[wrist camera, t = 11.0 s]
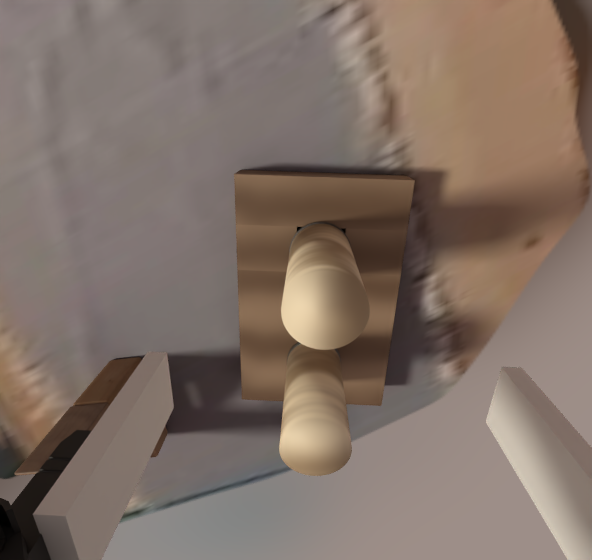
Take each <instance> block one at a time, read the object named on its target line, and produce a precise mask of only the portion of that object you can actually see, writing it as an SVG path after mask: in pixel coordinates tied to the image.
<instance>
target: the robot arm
mask: <svg viewBox="0 0 592 560" xmlns="http://www.w3.org/2000/svg"><path fill="white" fill-rule="evenodd" d="M173 408H174V404H173V396H172V388H171V380H170V372H169V364H168V356H167V353H165V352H147V354H146V355H145V356H144V358H143V359H142V361H141V362H140V364H139V365H138V366H137V368H136V369H135V371H134V372H133V373H132V375H131V376H130V378H129V379H128V380H127V382H126V383H125V385H124V386H123V388H122V389H121V390H120V392H119V393H118V395H117V396H116V397H115V399H114V400H113V402H112V403H111V404H110V406H109V407H108V409H107V410H106V412H105V413H104V414H103V416H102V417H101V419H100V420H99V421H98V423H97V424H96V426H95V427H94V428H93V430H92V431H89V430H76V431H75V432H73V433H72V434H71V435H69V436H68V437H67V438H65V439H64V440H63V441H62V442H60V444H59V445H58V446H57V447H56V449H55V450H54V451H53V453H52V454H51V455H50V456H49V459H48V460H46V461H45V463H44V464H43V465H42V467H41V468H40V469H39V472H37V473H36V474H35V476H34V477H33V478H32V479H31V481H30V482H29V483H28V485H27V486H26V487H25V489H24V490H23V491H22V492H21V494H20V495H19V496H18V497H17V499H16V500H15V501H14V503H13V504H12V505H10V503H9V501H6V500H4V499H2V498H0V560H101V559H102V557H103V555H104V553H105V551H106V549H107V547H108V545H109V542H110V540H111V538H112V536H113V534H114V532H115V530H116V528H117V526H118V524H119V522H120V520H121V517H122V515H123V513H124V511H125V509H126V507H127V505H128V503H129V501H130V499H131V496H132V494H133V492H134V490H135V488H136V486H137V484H138V482H139V480H140V478H141V476H142V473H143V471H144V469H145V467H146V465H147V463H148V461H149V459H150V457H151V455H152V452H153V450H154V448H155V446H156V444H157V442H158V440H159V438H160V436H161V434H162V431H163V429H164V427H165V425H166V423H167V421H168V419H169V417H170V415H171V413H172V411H173ZM486 423H487V425H488V426H489V428H490V430H491V431H492V433H493V435H494V436H495V438H496V440H497V441H498V443H499V445H500V446H501V448H502V450H503V452H504V453H505V455H506V456H507V458H508V460H509V462H510V463H511V465H512V467H513V468H514V470H515V472H516V473H517V475H518V477H519V478H520V480H521V482H522V484H523V485H524V487H525V489H526V490H527V492H528V494H529V495H530V497H531V499H532V500H533V502H534V504H535V505H536V507H537V509H538V510H539V512H540V514H541V515H542V517H543V519H544V520H545V522H546V524H547V525H548V527H549V529H550V531H551V532H552V534H553V536H554V537H555V539H556V540H557V542H558V544H559V546H560V547H561V549H562V551H563V552H564V554H565V556H566V557H567V559H568V560H592V448H591V447H590V445H589V444H588V443H587V442H586V441H585V440H584V439H583V438H582V436H581V435H580V434H579V433H578V432H577V430H576V429H575V428H574V427H573V426H572V425H571V424H570V422H569V421H568V420H567V419H566V418H565V417H564V416H563V414H562V413H561V412H560V411H559V410H558V409H557V408H556V406H555V405H554V404H553V403H552V402H551V401H550V400H549V398H548V397H547V396H546V395H545V394H544V393H543V392H542V390H541V389H540V388H539V387H538V386H537V385H536V383H535V382H534V381H533V380H532V379H531V378H530V377H529V375H528V374H527V373H526V372H525V371H524V370H523V369H522V368H516V367H502V368H501V371H500V375H499V378H498V382H497V385H496V388H495V392H494V396H493V399H492V402H491V405H490V409H489V412H488V416H487V419H486Z"/></svg>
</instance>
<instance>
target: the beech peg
mask: <svg viewBox="0 0 592 560" xmlns="http://www.w3.org/2000/svg"><path fill="white" fill-rule="evenodd" d="M369 315H370V305H369V300H368V297H367V294H366V291H365V288H364V285H363V282H362V279H361V276H360V273H359V270H358V267H357V264H356V262H355V259H354V256H353V253H352V250H351V245H350V242H349V239H348V237H347V236H346V234H345V233H344V231H343V230H341V229H340V228H339V227H338V226H336V225H334V224H332V223H328V222H313V223H309V224H307V225H305V226H303V227H302V228H301V229H299V230H298V231H297V233H296V234H295V235H294V237H293V239H292V241H291V244H290V250H289V260H288V266H287V273H286V279H285V286H284V292H283V299H282V305H281V316H282V321H283V324H284V326H285V328H286V330H287V331H288V333H289V334H290V335H291V336H292V337H293V338H294V339H295V340H296V341H298V342H299V343H301V344H303V345H305V346H307V347H310V348H314V349H320V350H330V349H336V348H340V347H343V346H345V345H347V344H349V343H351V342H352V341H354V340H355V339H356V338H357V337H358V336H359V335H360V334H361V333H362V332H363V330H364V329H365V327H366V325H367V322H368V320H369Z"/></svg>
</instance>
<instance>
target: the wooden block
mask: <svg viewBox="0 0 592 560" xmlns="http://www.w3.org/2000/svg"><path fill="white" fill-rule="evenodd" d="M141 361H142V359H141V358H140V357H135V358H126V359H116V360H111V361H109V363H108V364H107V365H106V366H105V367H104V369H103V370H102V371H101V372H100V373H99V374H98V376H97V377H96V378H95V379H94V380H93V382H92V383H91V384H90V385H89V386H88V387H87V389H86V390H85V391H84V392H83V393H82V395H81V396H80V397H79V398H78V399H77V400H76V402H75V403H74V405H73V407H70V408H69V409H68V411H67V412H66V413H65V414H64V415H63V416H62V418H61V419H60V420H59V421H58V422H57V424H56V425H55V426H54V427H53V428H52V429H51V431H50V432H49V433H48V434H47V435H46V437H45V438H44V439H43V440H42V441H41V442H40V444H39V445H38V446H37V447H36V448H35V450H34V451H33V452H32V453H31V454H30V455H29V457H28V458H27V459H26V460H25V461H24V463H23V464H22V465H21V466H20V467H19V468H18V470H17V471H16V472H15V475H27V474H36V473H37V472H39V469H40V468H41V467H42V465H43V464H44V463H45V461H46V460H48V459H49V456H50V455H51V454H52V453H53V451H54V450H55V449H56V447H57V446H58V445H59V444H60V442H62V441H63V440H64V439H65V438H67V437H68V436H69V435H71V434H72V433H73V432H75V431H76V430H89V431H92V430H93V428H94V427H95V426H96V424H97V423H98V421H99V420H100V419H101V417H102V416H103V414H104V413H105V412H106V410H107V409H108V407H109V406H110V404H111V403H112V402H113V400H114V399H115V397H116V396H117V395H118V393H119V392H120V390H121V389H122V388H123V386H124V385H125V383H126V382H127V380H128V379H129V378H130V376H131V375H132V373H133V372H134V371H135V369H136V368H137V366H138V365H139V364H140V362H141ZM166 436H167V429H166V426H165V427H164V429H163V431H162V434H161V436H160V438H159V440H158V442H157V444H156V446H155V448H154V450H153V452H152V455H151V457H156V456H157V455H158V453H159V451H160V449H161V447H162V444H163V442H164V440H165V438H166Z"/></svg>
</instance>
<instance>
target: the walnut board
mask: <svg viewBox="0 0 592 560" xmlns="http://www.w3.org/2000/svg"><path fill="white" fill-rule="evenodd" d="M234 180H235V209H236V238H237V268H238V297H239V326H240V355H241V384H242V399H247V400H268V401H284V403H283V414H282V425H281V436H280V446H279V450H280V455H281V457H282V459H283V461H284V462H285V463H286V465H287V466H289V467H290V468H291V469H293V470H294V471H296V472H299V473H302V474H305V475H311V476H321V475H327V474H331V473H333V472H336V471H337V470H339V469H341V468H342V467H343V466H344V465H345V464H346V463H347V462H348V460H349V459H350V456H351V452H352V447H351V439H350V431H349V423H348V416H347V408H346V404H355V405H377V406H381V404H382V397H383V391H384V384H385V377H386V371H387V364H388V357H389V350H390V344H391V337H392V330H393V324H394V317H395V310H396V304H397V297H398V290H399V283H400V277H401V270H402V263H403V257H404V250H405V243H406V236H407V230H408V223H409V216H410V210H411V203H412V196H413V190H414V183H415V180H413V179H411V178H409V177H408V176H406V175H377V174H347V173H318V172H288V171H259V170H240V171H238V172H237V173H235V174H234ZM313 222H328V223H332V224H334V225H336V226H338V227H339V228H342V230H343V231H344V233H345V234H346V236H347V237H348V239H349V242H350V245H351V250H352V253H353V256H354V259H355V262H356V264H357V267H358V270H359V273H360V276H361V279H362V282H363V285H364V288H365V291H366V294H367V297H368V300H369V305H370V315H369V320H368V322H367V325H366V327H365V329H364V330H363V332H362V333H361V334H360V335H359V336H358V337H357V338H356V339H355V340H354V341H352V342H351V343H349V344H347V345H345V346H343V347H340V348H336V349H330V350H320V349H314V348H310V347H307V346H305V345H303V344H301V343H299V342H298V341H296V340H295V339H294V338H293V337H292V336H291V335H290V334H289V333H288V331H287V330H286V328H285V326H284V324H283V321H282V316H281V305H282V299H283V292H284V286H285V279H286V273H287V266H288V260H289V250H290V244H291V241H292V239H293V237H294V235H295V234H296V233H297V231H298V227H303V226H305V225H307V224H309V223H313Z"/></svg>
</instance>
